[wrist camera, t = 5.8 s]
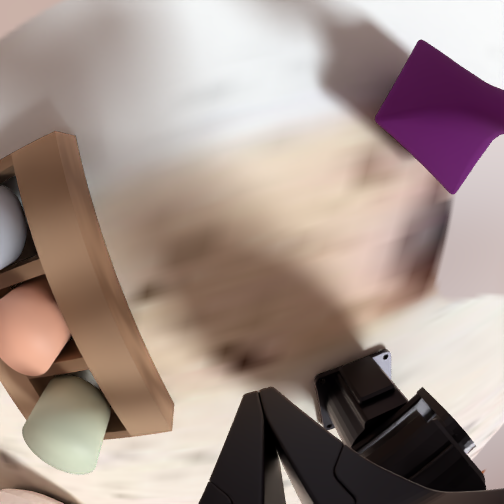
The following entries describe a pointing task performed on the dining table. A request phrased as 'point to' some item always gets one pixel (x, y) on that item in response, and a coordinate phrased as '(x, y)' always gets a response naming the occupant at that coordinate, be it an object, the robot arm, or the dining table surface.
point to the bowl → (24, 497)
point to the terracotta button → (31, 327)
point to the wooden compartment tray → (80, 292)
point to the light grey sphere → (11, 227)
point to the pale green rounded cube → (68, 425)
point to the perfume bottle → (442, 114)
